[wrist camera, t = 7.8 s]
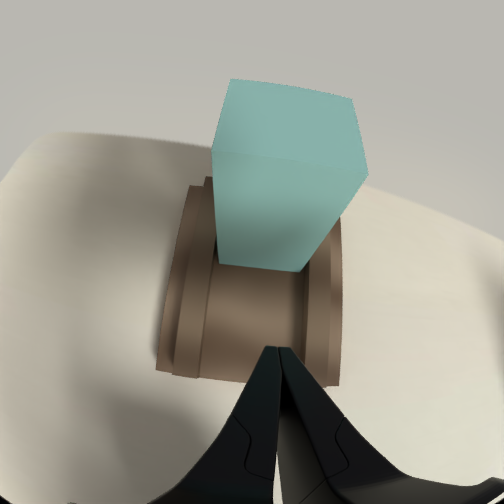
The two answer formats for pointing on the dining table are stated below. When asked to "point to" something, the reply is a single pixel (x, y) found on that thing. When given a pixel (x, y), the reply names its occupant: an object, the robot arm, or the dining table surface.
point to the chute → (247, 305)
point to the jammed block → (282, 172)
